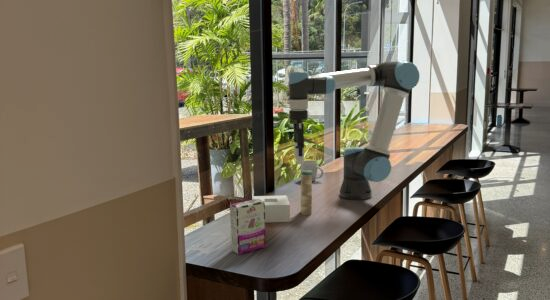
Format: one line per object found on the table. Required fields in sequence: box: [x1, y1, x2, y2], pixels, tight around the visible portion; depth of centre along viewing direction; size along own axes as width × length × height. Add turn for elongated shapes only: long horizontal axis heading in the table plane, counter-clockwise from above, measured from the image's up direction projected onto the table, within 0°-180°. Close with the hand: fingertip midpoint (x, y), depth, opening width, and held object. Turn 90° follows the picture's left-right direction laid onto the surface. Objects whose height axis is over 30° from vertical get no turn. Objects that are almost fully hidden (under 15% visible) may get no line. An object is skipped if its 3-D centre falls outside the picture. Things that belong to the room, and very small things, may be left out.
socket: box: [252, 194, 291, 223], centre depth 200 cm, size 14×14×7 cm
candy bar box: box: [229, 199, 267, 255], centre depth 164 cm, size 11×5×16 cm, turn 126°
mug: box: [300, 160, 324, 182], centre depth 262 cm, size 13×9×10 cm
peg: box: [300, 169, 313, 216], centre depth 204 cm, size 4×4×18 cm
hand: (298, 160), depth 203 cm, fingers open, 13 cm apart
